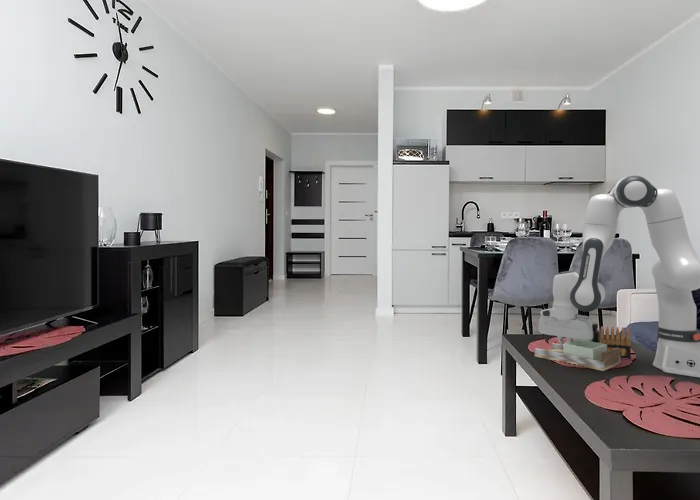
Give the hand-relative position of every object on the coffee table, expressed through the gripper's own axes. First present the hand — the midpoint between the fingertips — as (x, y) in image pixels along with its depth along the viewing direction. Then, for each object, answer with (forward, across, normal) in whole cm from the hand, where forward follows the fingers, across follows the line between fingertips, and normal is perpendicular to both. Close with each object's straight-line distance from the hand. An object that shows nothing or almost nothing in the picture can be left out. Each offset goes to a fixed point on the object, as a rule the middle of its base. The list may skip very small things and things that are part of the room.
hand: (565, 348), depth 186 cm
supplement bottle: (+4, -3, -14) cm, 15 cm away
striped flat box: (+4, -4, 0) cm, 6 cm away
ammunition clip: (+4, -12, -14) cm, 19 cm away
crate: (+2, -8, 0) cm, 8 cm away
